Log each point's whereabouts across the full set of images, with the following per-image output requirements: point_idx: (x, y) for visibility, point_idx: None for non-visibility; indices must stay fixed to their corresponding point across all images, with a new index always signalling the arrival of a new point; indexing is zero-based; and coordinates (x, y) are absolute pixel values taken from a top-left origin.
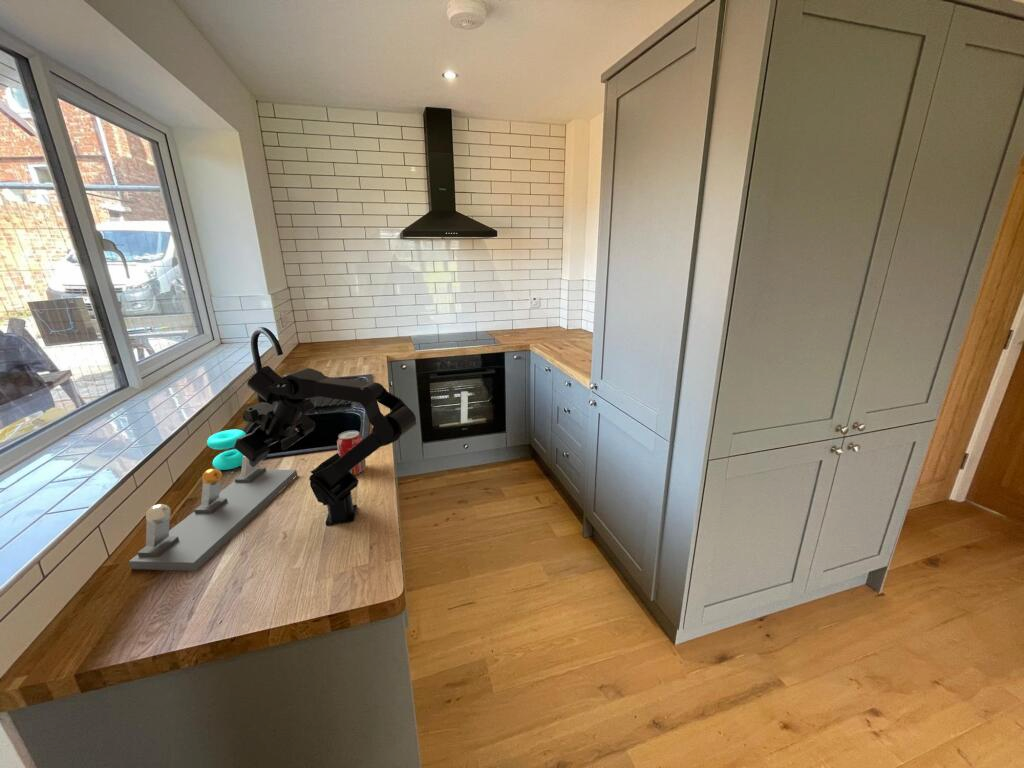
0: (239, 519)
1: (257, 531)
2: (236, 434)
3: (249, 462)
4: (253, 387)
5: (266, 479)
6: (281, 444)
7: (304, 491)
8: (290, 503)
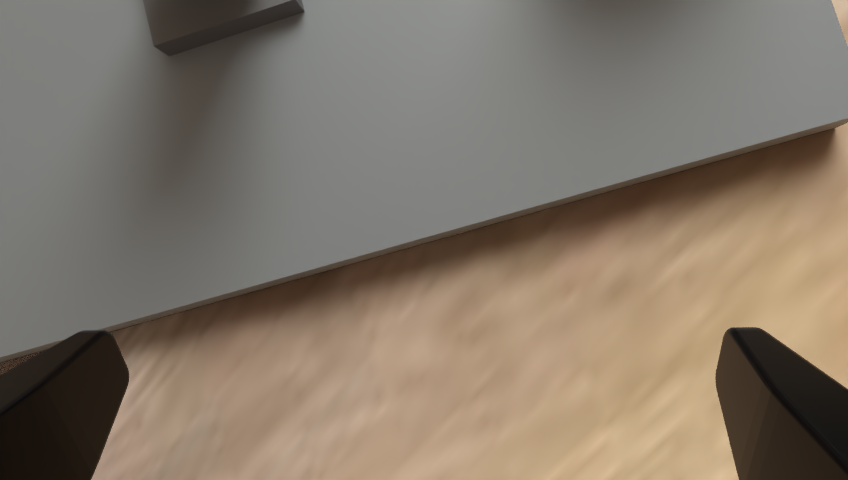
0: (166, 297)
1: (186, 437)
2: None
3: (28, 366)
4: None
5: (640, 3)
6: (761, 379)
7: (654, 376)
8: (489, 399)
